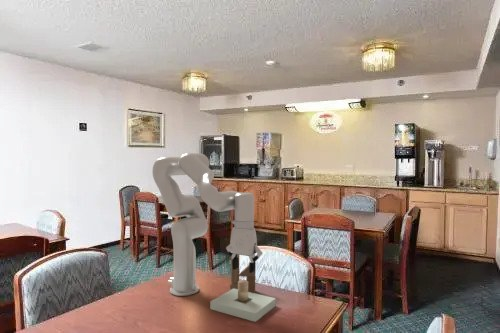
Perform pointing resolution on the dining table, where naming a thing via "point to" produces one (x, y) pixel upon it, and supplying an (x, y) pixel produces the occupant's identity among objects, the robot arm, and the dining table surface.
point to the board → (243, 305)
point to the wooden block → (244, 273)
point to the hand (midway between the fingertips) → (243, 269)
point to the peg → (243, 291)
